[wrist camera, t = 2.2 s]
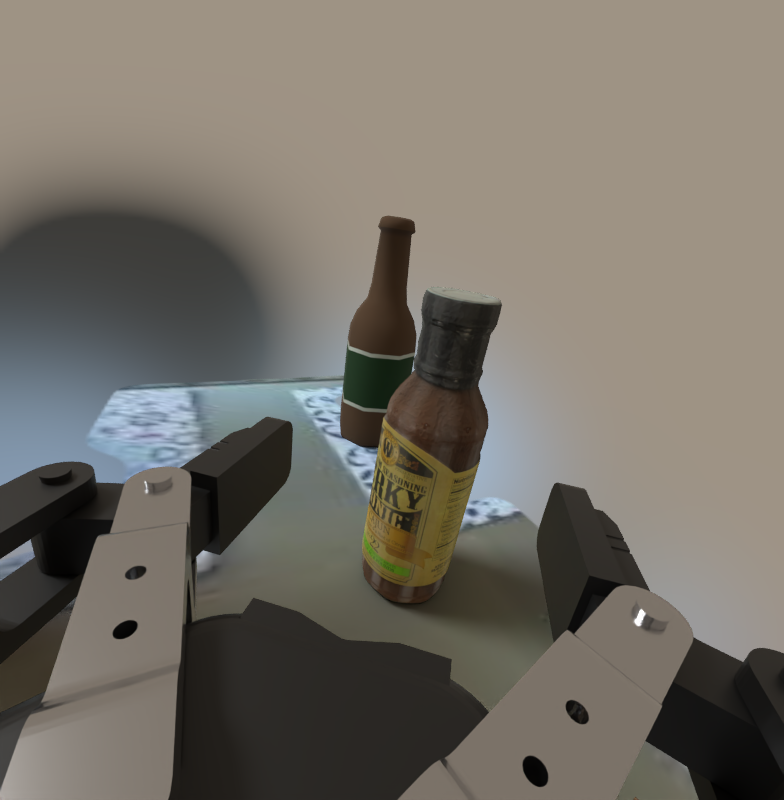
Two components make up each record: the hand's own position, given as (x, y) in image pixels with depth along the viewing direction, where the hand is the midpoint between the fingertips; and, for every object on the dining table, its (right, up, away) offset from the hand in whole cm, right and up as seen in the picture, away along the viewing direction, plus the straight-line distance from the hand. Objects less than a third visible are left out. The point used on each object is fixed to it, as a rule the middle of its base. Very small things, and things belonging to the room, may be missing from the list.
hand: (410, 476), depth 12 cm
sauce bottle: (0, -10, +16) cm, 19 cm away
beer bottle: (-3, -2, +36) cm, 36 cm away
